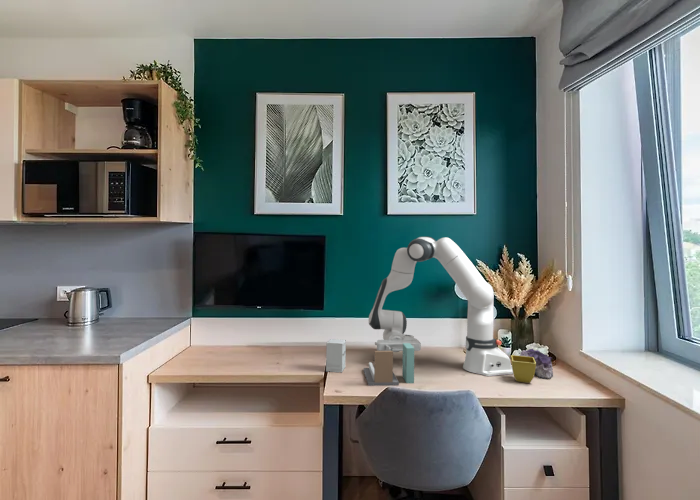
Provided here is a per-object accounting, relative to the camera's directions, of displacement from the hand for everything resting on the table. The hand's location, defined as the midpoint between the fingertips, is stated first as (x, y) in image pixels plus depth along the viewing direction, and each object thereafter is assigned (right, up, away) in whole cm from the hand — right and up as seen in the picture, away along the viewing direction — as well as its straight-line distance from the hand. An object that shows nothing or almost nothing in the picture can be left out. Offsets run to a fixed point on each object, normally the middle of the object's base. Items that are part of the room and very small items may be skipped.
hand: (401, 350), depth 172 cm
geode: (+60, -10, -1) cm, 61 cm away
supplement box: (-29, -9, -1) cm, 30 cm away
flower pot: (+48, -9, -13) cm, 51 cm away
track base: (-10, -9, -11) cm, 17 cm away
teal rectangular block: (+1, -9, -13) cm, 16 cm away
